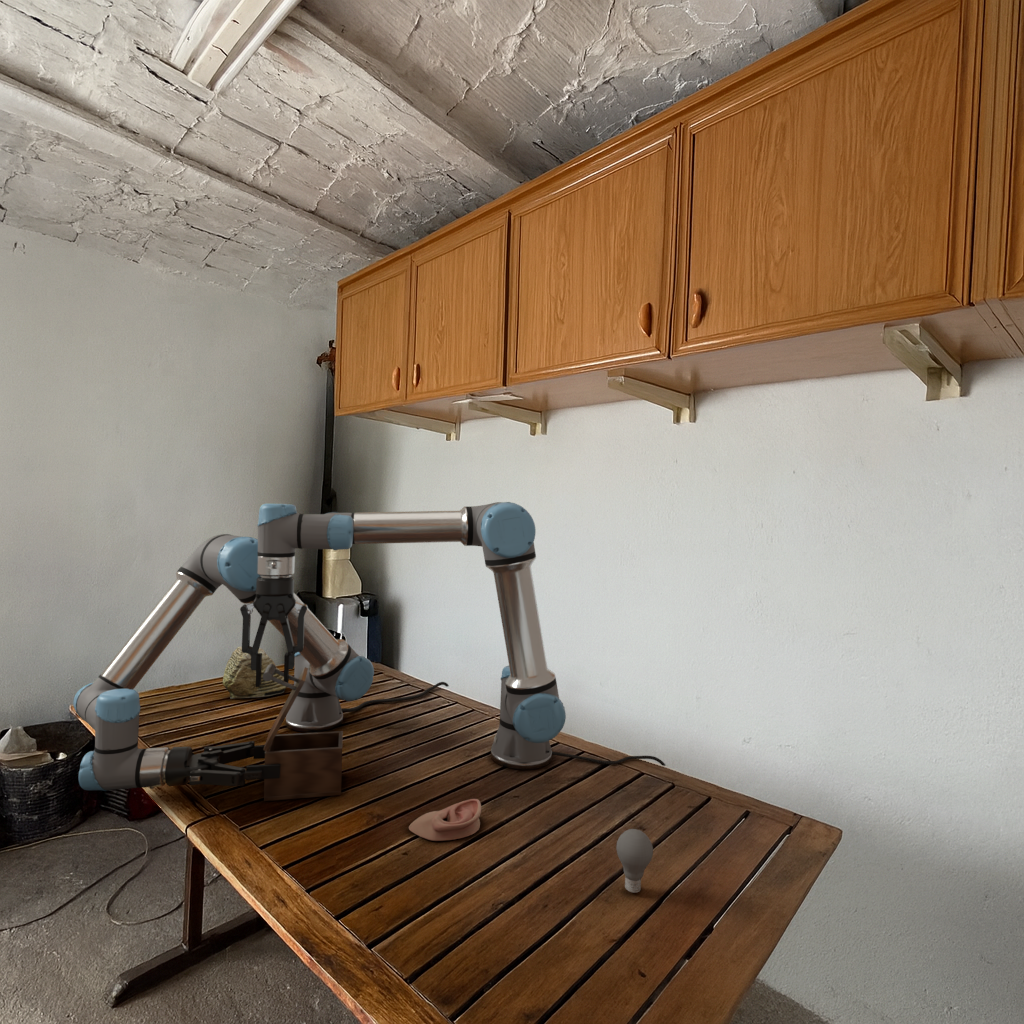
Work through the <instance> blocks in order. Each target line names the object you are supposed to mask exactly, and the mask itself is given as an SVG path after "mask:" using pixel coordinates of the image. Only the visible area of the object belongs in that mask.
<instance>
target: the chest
mask: <svg viewBox="0 0 1024 1024" xmlns="http://www.w3.org/2000/svg"><path fill="white" fill-rule="evenodd" d="M343 735H344V733H343V730H337V731H336V730H335V731H334V730H333V731H318V732H299V733H283V734H276V736H275V737H274V739H273V741H272V743H271V745H270V747H269V749H268V750H267V751H266V752H265V758H264V765H269V764H280V778H276V779H263V780H264V782H263V802H272V801H284V800H285V801H286V800H294V799H296V800H297V799H307V798H321V797H331V796H332V797H333V796H334V797H335V796H342V776H343V774H342V773H343V772H342V770H343V741H344V739H343Z"/></svg>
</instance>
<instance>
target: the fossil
mask: <svg viewBox="0 0 1024 1024" xmlns="http://www.w3.org/2000/svg"><path fill="white" fill-rule="evenodd" d="M258 653H262V670H261V684H260V687H256V670H251V655H250V654H248V653H243V652H242V646H238V647H237V648H236V649H235V650H233V651H232V653H231V656H230V657H229V659H228V660H227V663H226V666H225V668H224V671H223V675H222V676H223V677H222V685H223V687H224V688H225V690H226V691H228V693H229V698H230V699H250V698H264V697H271V696H275V695H281V694H284V693H285V691H286V689H287V687H286V686H284V685H281V684H279V683H277V682H274V681H272V680H270V681H264V680H263V674H264V672H265V670H266V668H267V666H268V665H270V664H273V665H275V666H276V669H277V670H280V669H279V668H278V667H277V665H276V663H275V662H274V660H273V659H272V658H271V657H270V656H269V655H268V654H267V653H266V652H265V650H264V649H263V648H260V647H259V651H258ZM273 677H276V678H278V679H280V680H283V681H284V677H283V676H281V675H279V674H276V673H274V675H273Z"/></svg>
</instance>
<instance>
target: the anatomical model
mask: <svg viewBox="0 0 1024 1024" xmlns="http://www.w3.org/2000/svg"><path fill="white" fill-rule="evenodd" d="M481 814H482V803H481V801H480V800H479V799H478V798H470V799H466V800H463V801H460V802H457V803H454V804H452V805H449V806H447V807H445V808H443V809H440V810H433V811H429V812H426V813H424V814H422V815H420V816H419V817H417V818H416V819H414V820H413V821H412V822H411V823H410V825H409V826H408V830H409V831H410V832H411V833H413V834H415V835H416V836H418V837H420V838H423V839H425V840H428V841H433V842H443V841H452V840H457V839H458V840H459V839H463V838H466V837H467V838H468V837H469V836H472V835H473V834H475V833H477V832H478V831H479V830H480V828H481V820H480V817H481Z"/></svg>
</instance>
